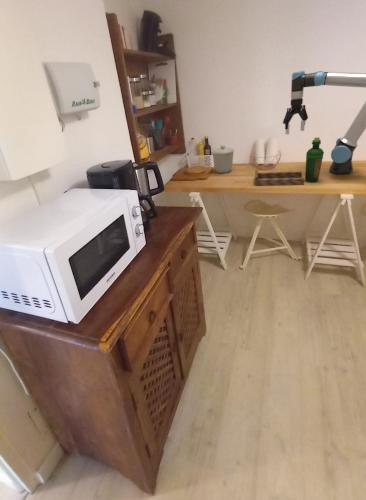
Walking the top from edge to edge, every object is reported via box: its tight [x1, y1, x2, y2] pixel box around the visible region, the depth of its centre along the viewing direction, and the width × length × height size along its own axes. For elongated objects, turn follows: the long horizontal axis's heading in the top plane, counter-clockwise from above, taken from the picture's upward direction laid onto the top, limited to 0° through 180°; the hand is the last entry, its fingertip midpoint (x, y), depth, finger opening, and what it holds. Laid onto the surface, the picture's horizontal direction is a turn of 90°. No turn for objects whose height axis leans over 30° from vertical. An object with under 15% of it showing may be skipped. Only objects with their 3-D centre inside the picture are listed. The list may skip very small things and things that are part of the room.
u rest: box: [254, 169, 305, 187], centre depth 205 cm, size 32×17×6 cm, turn 77°
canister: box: [211, 144, 235, 174], centre depth 236 cm, size 18×18×21 cm
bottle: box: [304, 137, 325, 183], centre depth 194 cm, size 11×11×28 cm
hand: (294, 132), depth 203 cm, fingers open, 13 cm apart
